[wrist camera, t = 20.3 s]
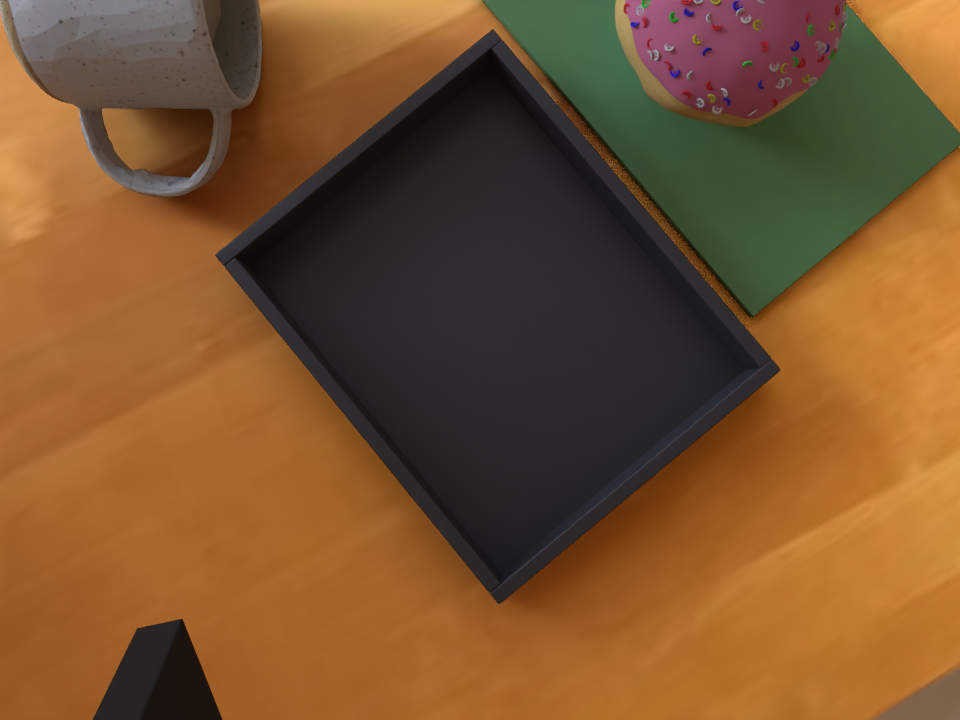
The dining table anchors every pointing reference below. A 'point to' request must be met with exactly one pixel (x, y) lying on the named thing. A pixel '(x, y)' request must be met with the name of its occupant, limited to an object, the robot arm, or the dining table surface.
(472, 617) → the dining table surface
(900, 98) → the green cloth
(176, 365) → the dining table surface
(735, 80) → the cupcake
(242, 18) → the ceramic mug
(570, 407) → the baking pan
